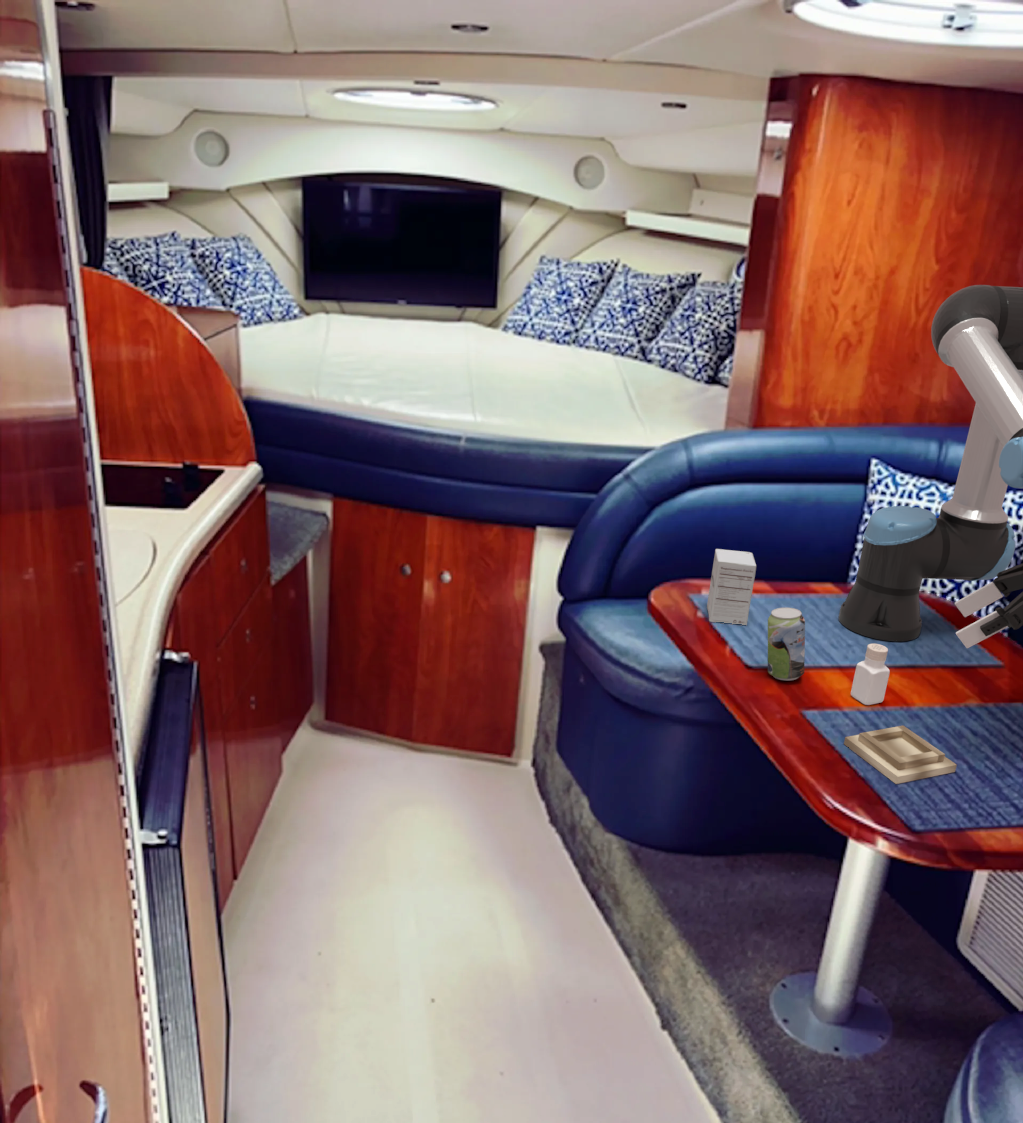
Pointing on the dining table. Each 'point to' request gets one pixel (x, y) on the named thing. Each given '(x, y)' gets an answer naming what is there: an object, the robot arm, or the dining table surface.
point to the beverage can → (786, 644)
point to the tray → (900, 754)
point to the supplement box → (731, 586)
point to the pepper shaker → (871, 676)
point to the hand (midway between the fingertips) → (960, 624)
